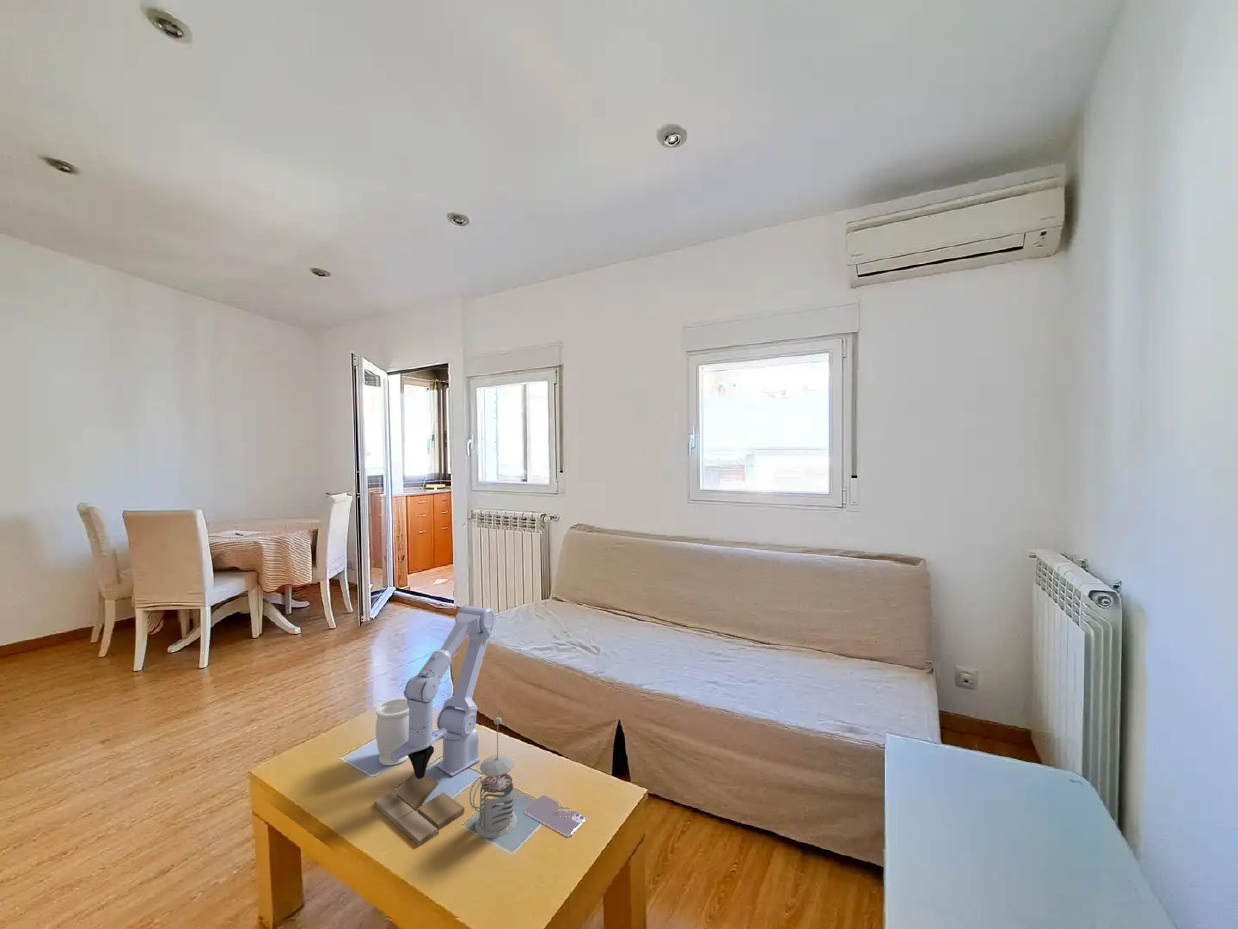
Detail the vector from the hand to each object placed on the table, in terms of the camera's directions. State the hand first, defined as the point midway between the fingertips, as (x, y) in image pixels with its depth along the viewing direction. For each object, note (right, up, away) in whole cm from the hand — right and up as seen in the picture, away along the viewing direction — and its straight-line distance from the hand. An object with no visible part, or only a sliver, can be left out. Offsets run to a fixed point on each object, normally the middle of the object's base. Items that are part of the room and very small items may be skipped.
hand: (419, 776), depth 124 cm
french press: (+22, -5, -10) cm, 24 cm away
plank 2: (+8, -5, -6) cm, 11 cm away
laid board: (0, -5, -8) cm, 10 cm away
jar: (-14, -5, +16) cm, 22 cm away
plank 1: (0, -3, 0) cm, 3 cm away
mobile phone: (+36, -6, -6) cm, 37 cm away
